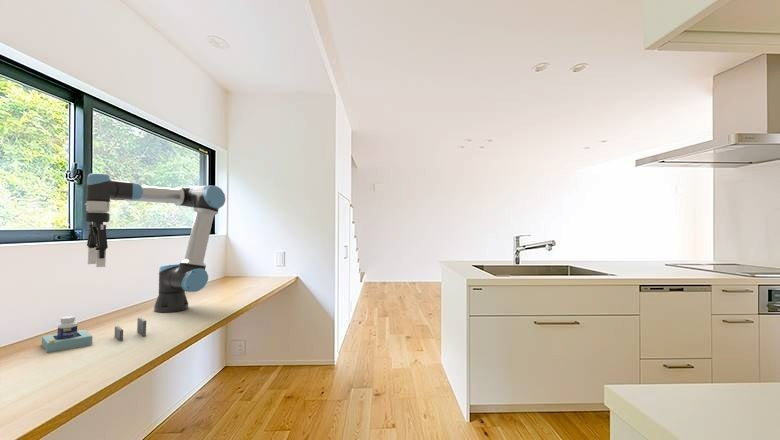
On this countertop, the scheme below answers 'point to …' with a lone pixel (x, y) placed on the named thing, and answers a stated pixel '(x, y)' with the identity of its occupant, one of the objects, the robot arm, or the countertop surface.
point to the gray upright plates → (140, 329)
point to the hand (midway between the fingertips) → (96, 265)
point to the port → (66, 341)
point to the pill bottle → (67, 328)
